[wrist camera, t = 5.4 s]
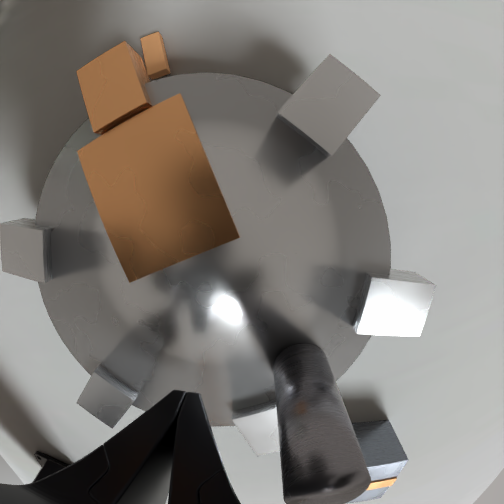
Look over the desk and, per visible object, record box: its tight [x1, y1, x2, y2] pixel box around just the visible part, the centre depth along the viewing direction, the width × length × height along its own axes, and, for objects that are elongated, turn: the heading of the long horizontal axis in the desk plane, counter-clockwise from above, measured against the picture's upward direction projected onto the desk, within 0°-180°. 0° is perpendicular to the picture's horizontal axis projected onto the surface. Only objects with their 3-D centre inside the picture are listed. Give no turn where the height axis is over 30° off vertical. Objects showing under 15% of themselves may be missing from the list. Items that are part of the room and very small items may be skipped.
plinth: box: [141, 32, 293, 95], centre depth 11 cm, size 16×14×1 cm
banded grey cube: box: [345, 420, 408, 504], centre depth 13 cm, size 4×3×4 cm
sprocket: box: [0, 41, 436, 504], centre depth 7 cm, size 14×15×7 cm
